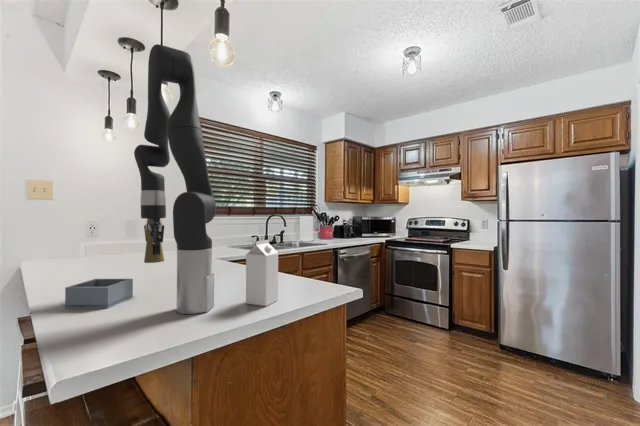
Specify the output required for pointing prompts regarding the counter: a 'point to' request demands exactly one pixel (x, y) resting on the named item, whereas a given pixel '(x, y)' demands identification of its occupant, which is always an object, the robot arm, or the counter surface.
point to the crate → (98, 293)
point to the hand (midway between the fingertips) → (154, 254)
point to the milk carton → (262, 274)
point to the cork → (149, 251)
